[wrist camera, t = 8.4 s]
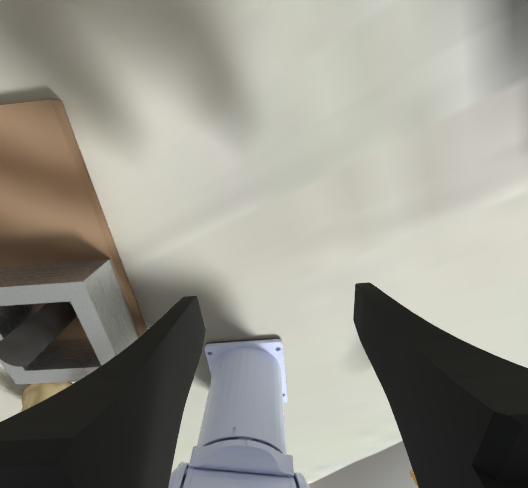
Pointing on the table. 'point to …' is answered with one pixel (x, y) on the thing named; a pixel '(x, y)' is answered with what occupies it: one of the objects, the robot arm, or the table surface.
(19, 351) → the brown board
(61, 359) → the grey square frame
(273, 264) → the table surface
